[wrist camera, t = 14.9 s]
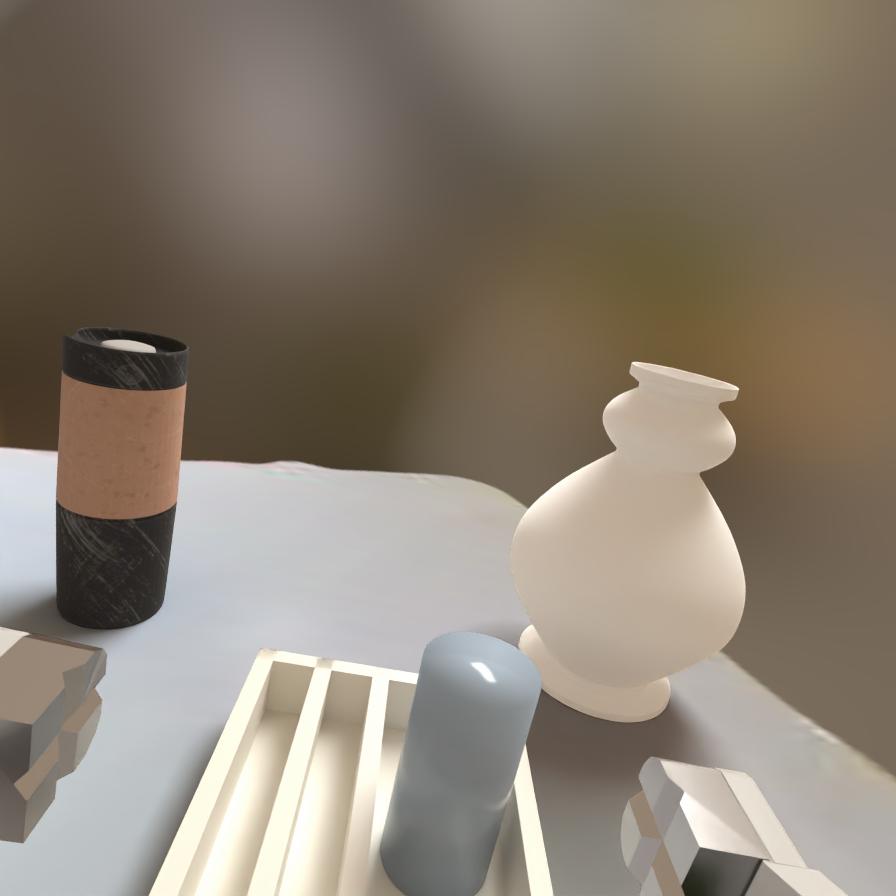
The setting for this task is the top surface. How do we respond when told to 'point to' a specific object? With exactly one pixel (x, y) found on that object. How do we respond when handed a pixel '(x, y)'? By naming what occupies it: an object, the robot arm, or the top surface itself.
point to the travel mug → (117, 473)
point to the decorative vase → (633, 554)
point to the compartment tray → (320, 791)
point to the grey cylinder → (458, 763)
